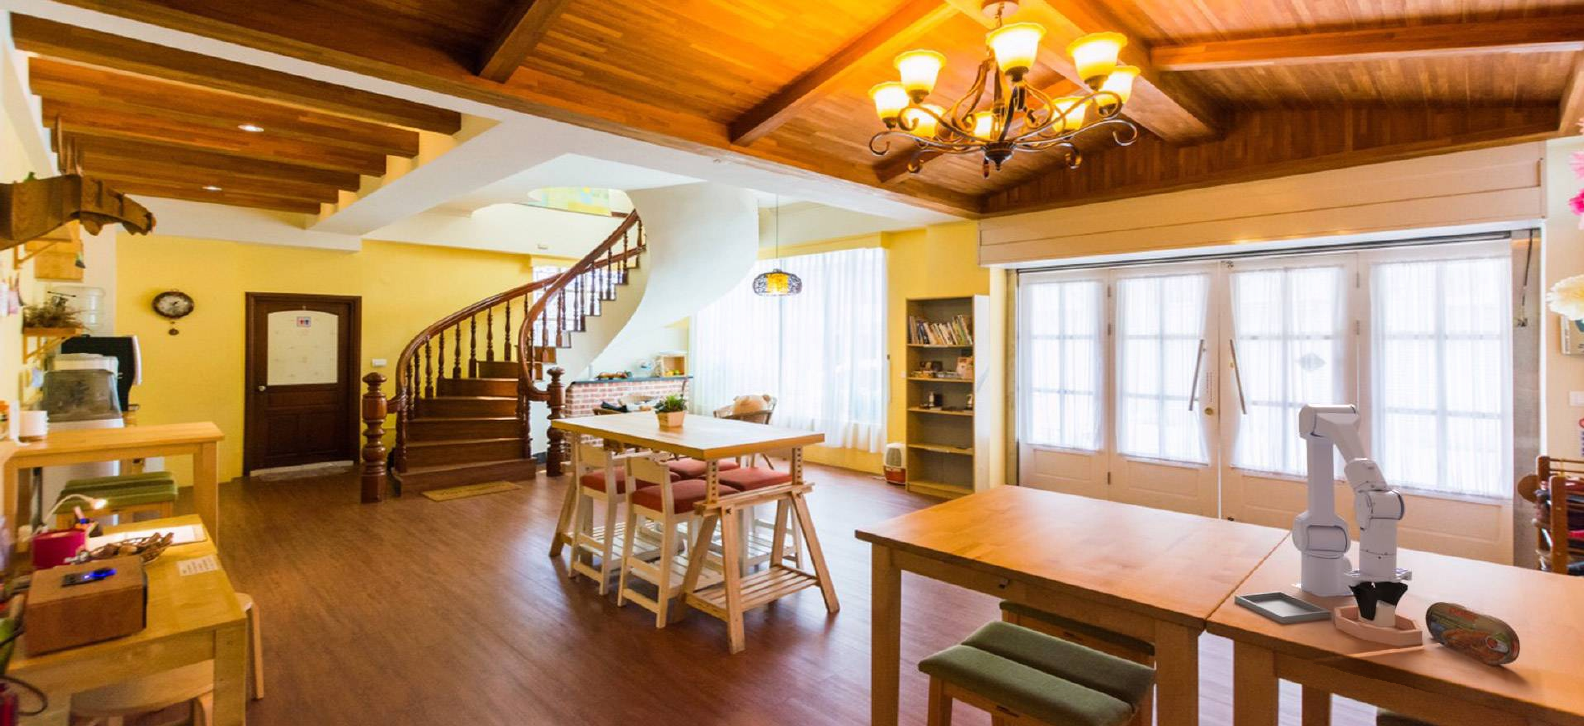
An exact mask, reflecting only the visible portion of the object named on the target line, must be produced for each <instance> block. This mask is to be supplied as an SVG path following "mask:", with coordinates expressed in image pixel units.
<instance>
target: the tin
mask: <svg viewBox="0 0 1584 726" xmlns="http://www.w3.org/2000/svg"><path fill="white" fill-rule="evenodd" d="M1425 624H1426V628H1427V630H1428V632H1429V634H1430V635H1431V637H1432V638H1433V639H1434V640H1437V641H1440V642H1439V645H1441V646H1443V647H1445V648H1447V649H1450V650H1453V651H1454V652H1457V653H1460V654H1462V655H1465V656H1467V657H1468V658H1472V659H1473V660H1476V661H1479V662H1480V663H1483V664H1486V665H1490V666H1499V665H1508V664H1509V665H1510V664H1511V663H1512V664H1513V663H1514V662H1515V661H1516V660H1517V659H1518V658H1519V655H1520V651H1521V648H1520V647H1521V644H1520V638H1519V636H1518V634H1517V633H1516V631H1515V630H1514V629H1513V628H1512V626H1511V625H1510V624H1508V623H1507V622H1505V621H1504V620H1503V619H1500V618H1497V617H1495V616H1492V615H1489V614H1486V613H1483V612H1481V611H1478V610H1475V609H1473V608H1470V607H1467V606H1464V605H1461V604H1460V603H1459V604H1458V603H1455V602H1445V601H1439V602H1434V603H1433V604H1431V605H1429V607H1428V608H1427V609H1426V613H1425Z"/></svg>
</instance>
